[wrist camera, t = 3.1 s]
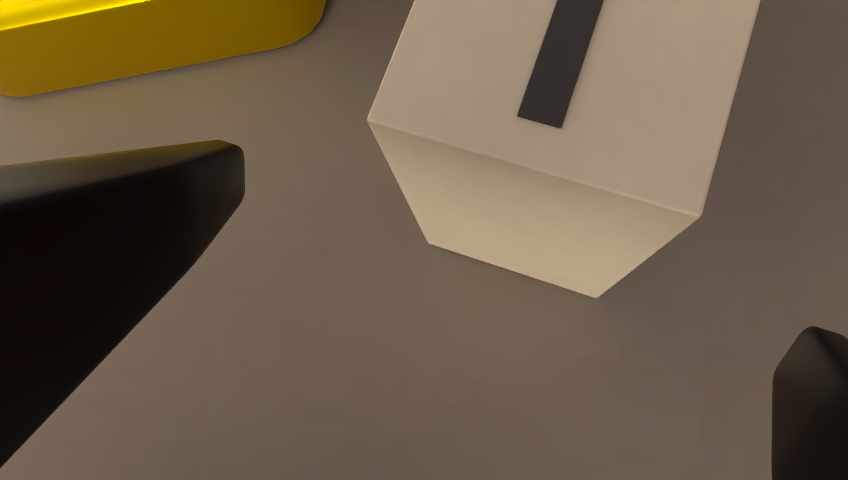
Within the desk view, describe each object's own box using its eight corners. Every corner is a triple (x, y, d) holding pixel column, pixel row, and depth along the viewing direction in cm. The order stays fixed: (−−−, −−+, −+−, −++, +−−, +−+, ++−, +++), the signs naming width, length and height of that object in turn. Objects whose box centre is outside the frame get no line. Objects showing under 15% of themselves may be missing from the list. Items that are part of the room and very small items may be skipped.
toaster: (597, 299, 19) (703, 217, 9) (427, 243, 20) (364, 118, 10) (643, 144, 20) (783, -75, 10) (479, 99, 21) (466, -136, 11)
